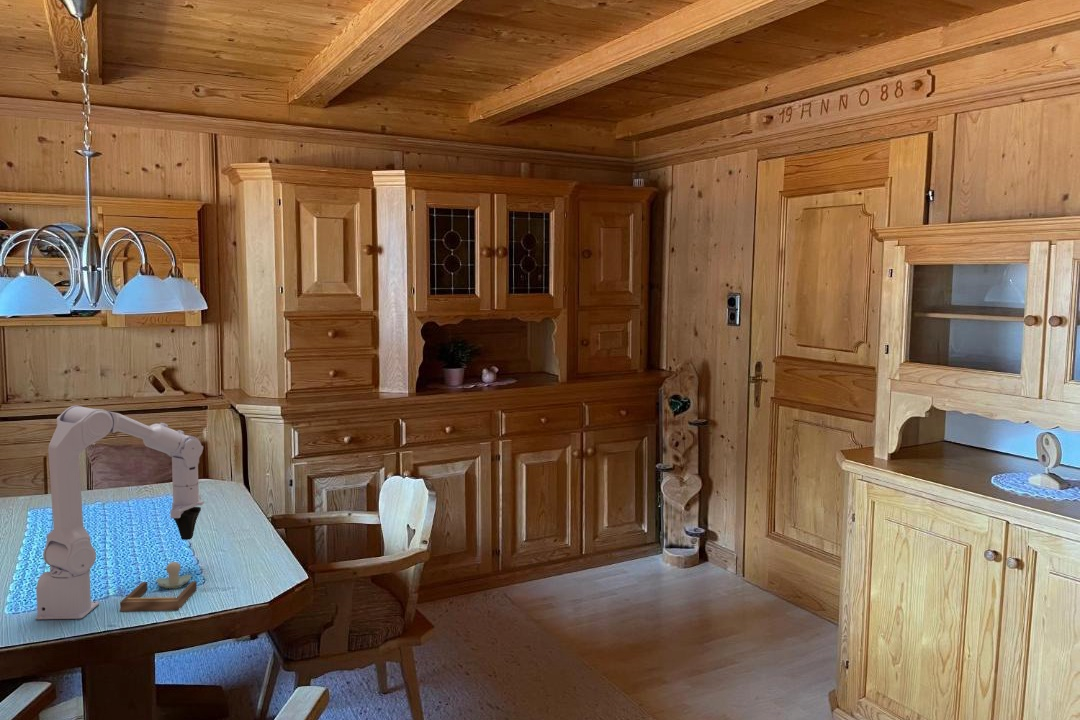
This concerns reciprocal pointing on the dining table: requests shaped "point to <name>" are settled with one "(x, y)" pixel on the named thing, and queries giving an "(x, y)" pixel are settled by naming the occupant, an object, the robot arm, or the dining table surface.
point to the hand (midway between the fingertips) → (187, 538)
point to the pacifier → (173, 577)
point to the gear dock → (155, 600)
